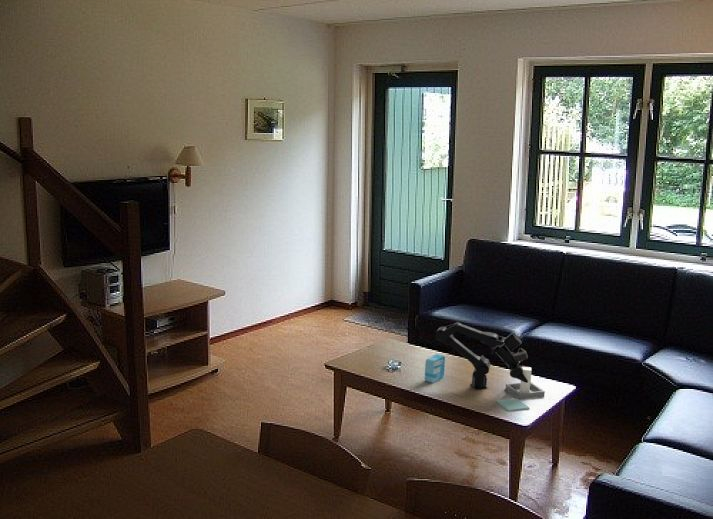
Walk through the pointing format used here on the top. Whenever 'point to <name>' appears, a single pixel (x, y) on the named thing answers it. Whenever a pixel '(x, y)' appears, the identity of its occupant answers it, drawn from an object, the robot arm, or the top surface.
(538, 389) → the gray square frame
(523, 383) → the block
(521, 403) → the teal mat
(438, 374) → the light blue upright slab
